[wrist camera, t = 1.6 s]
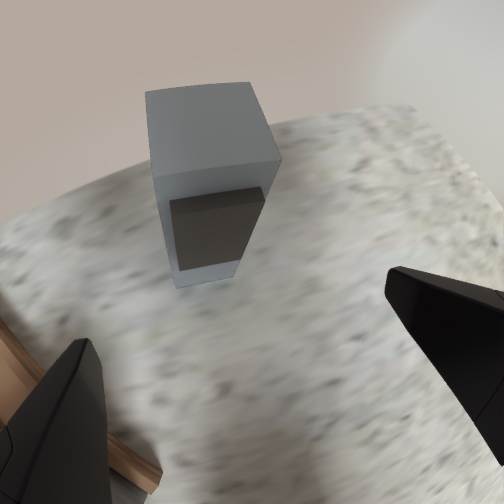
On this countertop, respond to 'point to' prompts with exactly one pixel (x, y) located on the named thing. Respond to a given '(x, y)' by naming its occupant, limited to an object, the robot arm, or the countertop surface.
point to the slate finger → (209, 174)
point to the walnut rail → (120, 457)
